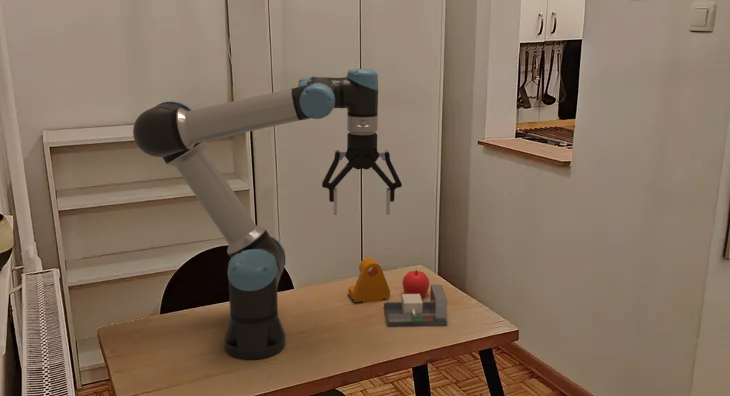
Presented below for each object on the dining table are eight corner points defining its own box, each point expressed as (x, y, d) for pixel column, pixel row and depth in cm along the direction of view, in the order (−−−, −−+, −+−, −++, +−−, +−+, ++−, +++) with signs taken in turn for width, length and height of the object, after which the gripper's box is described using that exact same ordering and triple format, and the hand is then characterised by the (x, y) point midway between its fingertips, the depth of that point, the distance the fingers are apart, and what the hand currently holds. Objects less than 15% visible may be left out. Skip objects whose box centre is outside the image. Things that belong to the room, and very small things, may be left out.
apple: (415, 287, 202) (416, 263, 199) (434, 296, 196) (435, 270, 194) (396, 294, 197) (397, 269, 195) (415, 303, 191) (416, 277, 189)
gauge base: (387, 326, 177) (387, 301, 175) (383, 307, 188) (384, 283, 186) (446, 325, 177) (447, 301, 175) (439, 306, 189) (440, 283, 187)
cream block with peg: (404, 321, 177) (405, 307, 176) (401, 307, 185) (401, 294, 184) (423, 321, 177) (424, 307, 176) (419, 307, 185) (419, 293, 184)
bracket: (381, 290, 200) (382, 252, 196) (390, 299, 193) (390, 261, 190) (347, 294, 196) (347, 256, 193) (354, 304, 190) (355, 265, 186)
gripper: (311, 134, 161) (312, 218, 166) (413, 135, 162) (411, 217, 168) (312, 129, 168) (313, 209, 174) (410, 129, 169) (408, 209, 175)
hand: (361, 213), depth 171 cm, fingers open, 13 cm apart
